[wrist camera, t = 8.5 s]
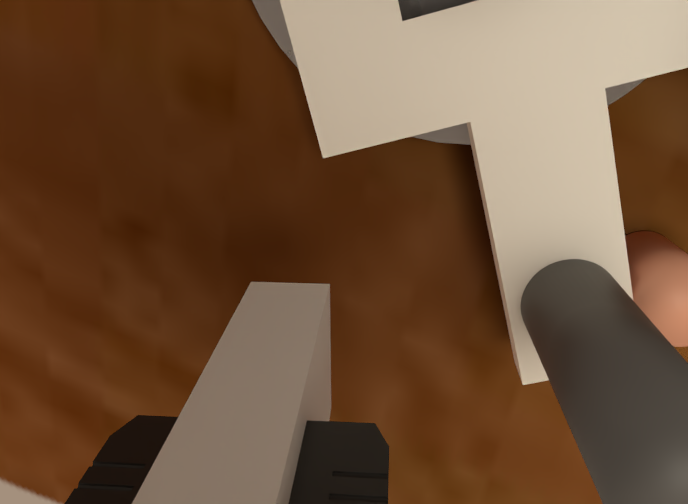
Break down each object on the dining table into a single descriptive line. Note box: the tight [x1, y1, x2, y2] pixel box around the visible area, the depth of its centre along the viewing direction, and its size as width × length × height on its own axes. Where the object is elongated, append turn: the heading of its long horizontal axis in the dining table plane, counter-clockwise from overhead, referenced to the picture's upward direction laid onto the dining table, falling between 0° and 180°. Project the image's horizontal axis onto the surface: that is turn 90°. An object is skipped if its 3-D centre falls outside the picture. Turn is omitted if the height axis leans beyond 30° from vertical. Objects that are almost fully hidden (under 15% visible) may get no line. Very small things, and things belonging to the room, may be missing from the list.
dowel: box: [625, 231, 688, 347], centre depth 17 cm, size 2×2×3 cm
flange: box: [280, 0, 688, 504], centre depth 11 cm, size 17×10×8 cm, turn 15°
